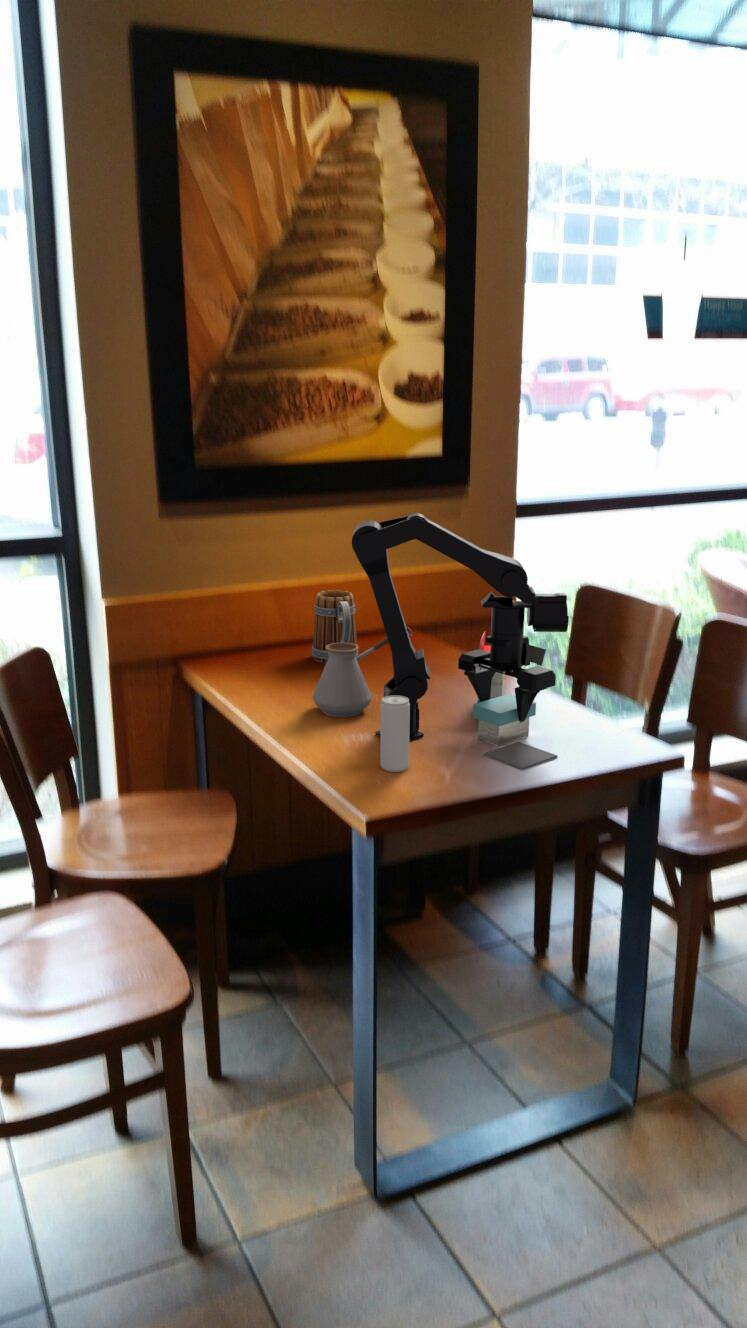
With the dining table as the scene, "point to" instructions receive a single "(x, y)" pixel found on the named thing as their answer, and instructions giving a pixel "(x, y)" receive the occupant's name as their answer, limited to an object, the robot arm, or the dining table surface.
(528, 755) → the coaster
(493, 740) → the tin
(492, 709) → the lid
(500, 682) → the ink box
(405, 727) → the beverage can
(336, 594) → the mug
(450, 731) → the dining table surface
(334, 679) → the coffee pot
